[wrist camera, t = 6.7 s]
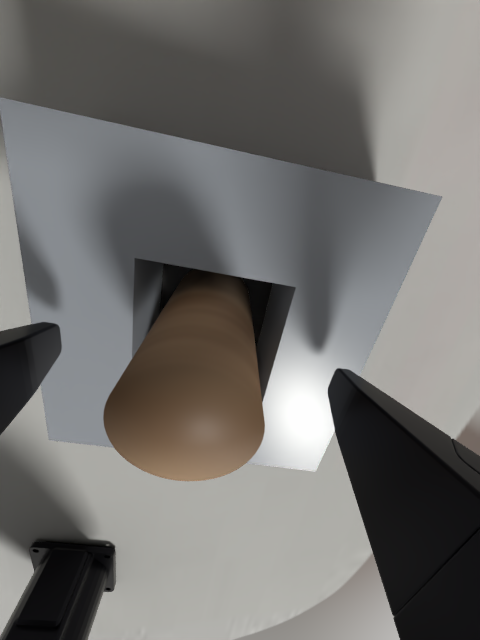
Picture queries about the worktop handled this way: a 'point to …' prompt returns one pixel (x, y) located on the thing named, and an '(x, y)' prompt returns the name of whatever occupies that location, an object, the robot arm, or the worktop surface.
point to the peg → (192, 385)
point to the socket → (201, 261)
